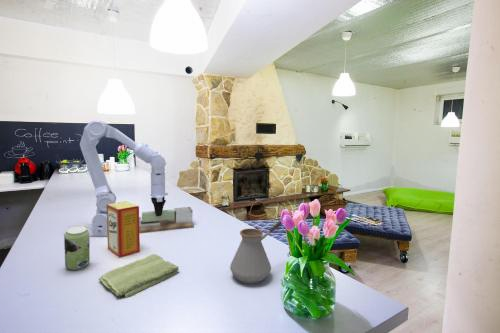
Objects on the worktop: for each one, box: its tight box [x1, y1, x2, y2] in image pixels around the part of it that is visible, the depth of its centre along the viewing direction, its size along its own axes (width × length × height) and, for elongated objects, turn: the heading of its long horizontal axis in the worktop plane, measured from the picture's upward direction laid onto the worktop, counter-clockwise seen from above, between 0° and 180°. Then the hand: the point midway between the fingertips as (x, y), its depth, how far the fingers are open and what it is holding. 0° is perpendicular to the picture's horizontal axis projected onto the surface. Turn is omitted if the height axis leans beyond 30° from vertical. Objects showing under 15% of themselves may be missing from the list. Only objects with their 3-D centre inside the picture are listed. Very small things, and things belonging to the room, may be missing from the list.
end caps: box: [139, 206, 194, 228], centre depth 116 cm, size 22×6×6 cm, turn 113°
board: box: [139, 219, 195, 234], centre depth 116 cm, size 22×12×1 cm, turn 113°
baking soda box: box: [107, 200, 141, 259], centre depth 89 cm, size 10×6×16 cm
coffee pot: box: [229, 220, 283, 285], centre depth 77 cm, size 21×12×15 cm, turn 130°
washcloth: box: [98, 253, 179, 299], centre depth 73 cm, size 13×18×3 cm
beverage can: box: [63, 225, 91, 271], centre depth 77 cm, size 6×7×12 cm
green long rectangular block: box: [141, 209, 174, 222], centre depth 114 cm, size 13×3×4 cm, turn 113°
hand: (158, 214), depth 114 cm, fingers closed on green long rectangular block, 3 cm apart
